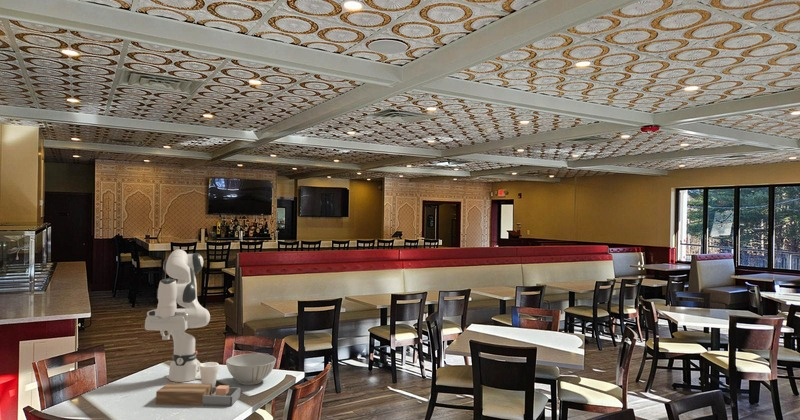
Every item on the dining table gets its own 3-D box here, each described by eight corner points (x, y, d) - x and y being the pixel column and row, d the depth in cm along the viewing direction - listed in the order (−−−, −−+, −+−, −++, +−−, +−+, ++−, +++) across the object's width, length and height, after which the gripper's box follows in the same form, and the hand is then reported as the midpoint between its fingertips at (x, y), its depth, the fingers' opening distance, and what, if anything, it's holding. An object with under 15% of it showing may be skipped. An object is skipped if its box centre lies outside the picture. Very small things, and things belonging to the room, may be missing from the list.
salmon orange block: (219, 391, 265) (219, 385, 265) (229, 391, 265) (229, 385, 265) (215, 394, 260) (215, 388, 260) (225, 394, 260) (225, 388, 260)
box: (212, 395, 270) (213, 386, 270) (240, 396, 270) (240, 387, 270) (202, 405, 256) (202, 395, 256) (231, 406, 256) (231, 396, 256)
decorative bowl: (268, 390, 281) (268, 367, 281) (217, 388, 281) (218, 365, 281) (280, 375, 307) (281, 354, 308) (234, 373, 308) (235, 352, 308)
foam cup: (198, 392, 274) (198, 367, 274) (199, 387, 282) (200, 362, 283) (217, 391, 276) (218, 366, 276) (218, 386, 285) (219, 361, 285)
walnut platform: (168, 394, 270) (168, 382, 270) (211, 395, 270) (212, 383, 270) (155, 404, 256) (156, 391, 256) (201, 405, 256) (202, 392, 256)
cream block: (225, 391, 265) (225, 397, 265) (215, 391, 265) (215, 397, 265) (222, 394, 260) (222, 400, 260) (212, 394, 260) (212, 400, 260)
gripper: (190, 311, 268) (189, 338, 268) (149, 310, 268) (148, 337, 268) (185, 313, 262) (184, 341, 261) (143, 312, 262) (142, 340, 261)
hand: (165, 339), depth 265 cm, fingers closed
